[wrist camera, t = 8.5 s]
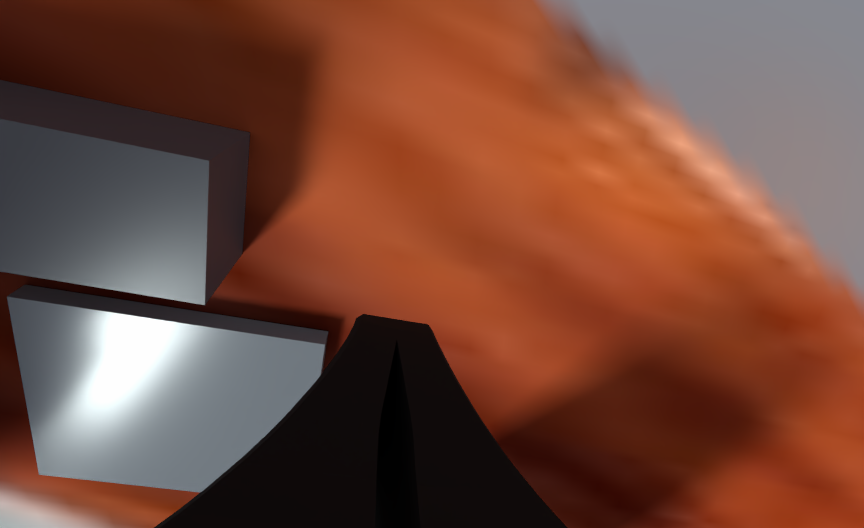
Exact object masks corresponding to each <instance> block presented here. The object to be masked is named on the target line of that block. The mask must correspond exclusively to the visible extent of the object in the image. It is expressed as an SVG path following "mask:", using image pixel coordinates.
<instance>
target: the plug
mask: <svg viewBox="0 0 864 528" xmlns="http://www.w3.org/2000/svg"><path fill="white" fill-rule="evenodd" d="M249 142H250V132H246V131H241V130H236V129H231V128H227V127H222V126H217V125H212V124H208V123H203V122H198V121H193V120H189V119H184V118H179V117H174V116H170V115H165V114H160V113H155V112H151V111H146V110H141V109H136V108H132V107H127V106H122V105H117V104H113V103H108V102H103V101H98V100H93V99H89V98H84V97H79V96H74V95H70V94H65V93H60V92H55V91H51V90H46V89H41V88H36V87H32V86H27V85H22V84H17V83H13V82H8V81H3V80H0V272H6V273H12V274H18V275H24V276H30V277H37V278H43V279H49V280H55V281H61V282H67V283H73V284H79V285H85V286H91V287H97V288H103V289H109V290H115V291H122V292H128V293H134V294H140V295H146V296H152V297H158V298H164V299H170V300H176V301H182V302H188V303H194V304H200V305H205V304H206V303H207V302H208V300H209V299H210V297H211V296H212V295H213V293H214V292H215V291H216V289H217V288H218V286H219V285H220V284H221V282H222V281H223V280H224V278H225V277H226V275H227V274H228V273H229V271H230V270H231V269H232V267H233V266H234V264H235V263H236V262H237V260H238V259H239V258H240V256H241V255H242V251H243V236H244V220H245V204H246V189H247V173H248V158H249Z"/></svg>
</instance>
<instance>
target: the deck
mask: <svg viewBox="0 0 864 528" xmlns="http://www.w3.org/2000/svg"><path fill="white" fill-rule="evenodd" d="M7 300H8V306H9V311H10V317H11V323H12V328H13V334H14V339H15V345H16V350H17V356H18V361H19V367H20V372H21V378H22V383H23V389H24V394H25V400H26V405H27V411H28V416H29V422H30V427H31V433H32V438H33V444H34V449H35V455H36V460H37V466H38V471H39V475H48V476H57V477H66V478H75V479H84V480H93V481H102V482H111V483H120V484H129V485H139V486H148V487H157V488H166V489H175V490H184V491H193V492H202V491H203V490H204V489H206V488H207V487H208V486H209V485H210V484H211V483H213V482H214V481H215V480H216V479H217V478H219V477H220V476H221V475H222V474H223V473H224V472H226V471H227V470H228V469H229V468H230V467H231V466H233V465H234V464H235V463H236V462H237V461H238V460H240V459H241V458H242V457H243V456H244V455H245V454H246V453H247V452H249V451H250V450H251V449H252V448H253V447H254V446H255V445H256V444H257V443H258V442H259V441H260V440H261V439H262V438H263V437H265V436H266V435H267V434H268V433H269V432H270V431H271V430H272V429H273V428H274V427H275V426H276V425H277V424H278V423H279V422H280V421H281V420H282V419H283V417H284V416H285V415H286V414H287V413H288V412H289V411H290V410H291V409H292V408H293V407H294V406H295V404H296V403H297V402H298V401H299V400H300V399H301V398H302V396H303V395H304V394H305V393H306V392H307V391H308V390H309V389H310V387H311V386H312V385H313V384H314V383H315V382H316V380H317V379H318V378H319V377H320V375H321V374H322V373H323V366H324V359H325V352H326V345H327V339H328V332H329V331H322V330H316V329H309V328H303V327H296V326H290V325H283V324H277V323H270V322H264V321H257V320H251V319H244V318H238V317H231V316H225V315H219V314H212V313H206V312H199V311H193V310H186V309H180V308H173V307H167V306H160V305H154V304H147V303H141V302H134V301H128V300H121V299H115V298H108V297H102V296H95V295H89V294H83V293H76V292H70V291H63V290H57V289H50V288H44V287H37V286H31V285H23V286H22V287H20V288H19V289H17V290H16V291H14V292H13V293H11V294H10V295H8V296H7Z"/></svg>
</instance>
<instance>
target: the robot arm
mask: <svg viewBox="0 0 864 528" xmlns="http://www.w3.org/2000/svg"><path fill="white" fill-rule="evenodd" d="M154 528H567V527H566V526H565V525H564V524H563V523H562V521H561V520H560V519H559V518H558V517H557V516H556V515H555V514H554V513H553V512H552V511H551V509H550V508H549V507H548V506H547V505H546V504H545V503H544V502H543V500H542V499H541V498H540V497H539V496H538V495H537V494H536V492H535V491H534V490H533V489H532V487H531V486H530V485H529V484H528V482H527V481H526V480H525V479H524V478H523V476H522V475H521V474H520V473H519V471H518V470H517V469H516V468H515V467H514V465H513V464H512V463H511V461H510V460H509V459H508V457H507V456H506V455H505V453H504V452H503V450H502V449H501V448H500V446H499V445H498V443H497V442H496V441H495V439H494V438H493V436H492V435H491V433H490V432H489V430H488V429H487V427H486V426H485V424H484V423H483V421H482V420H481V418H480V417H479V415H478V414H477V412H476V410H475V409H474V407H473V406H472V404H471V402H470V401H469V399H468V397H467V396H466V394H465V392H464V391H463V389H462V387H461V385H460V384H459V382H458V380H457V379H456V377H455V375H454V373H453V371H452V369H451V368H450V366H449V364H448V362H447V360H446V358H445V356H444V354H443V352H442V350H441V348H440V346H439V344H438V342H437V340H436V338H435V336H434V333H433V331H432V330H431V328H430V327H429V325H428V324H422V323H416V322H409V321H403V320H397V319H391V318H385V317H378V316H372V315H366V314H363V315H361V316H359V317H358V318H356V321H355V324H354V326H353V328H352V330H351V332H350V334H349V335H348V337H347V339H346V340H345V342H344V344H343V345H342V347H341V348H340V350H339V351H338V353H337V354H336V355H335V357H334V358H333V359H332V361H331V362H330V363H329V365H328V366H327V367H326V369H325V370H324V371H323V373H322V374H321V375H320V377H319V378H318V379H317V380H316V382H315V383H314V384H313V385H312V386H311V387H310V389H309V390H308V391H307V392H306V393H305V394H304V395H303V396H302V398H301V399H300V400H299V401H298V402H297V403H296V404H295V406H294V407H293V408H292V409H291V410H290V411H289V412H288V413H287V414H286V415H285V416H284V417H283V419H282V420H281V421H280V422H279V423H278V424H277V425H276V426H275V427H274V428H273V429H272V430H271V431H270V432H269V433H268V434H267V435H266V436H265V437H263V438H262V439H261V440H260V441H259V442H258V443H257V444H256V445H255V446H254V447H253V448H252V449H251V450H250V451H249V452H247V453H246V454H245V455H244V456H243V457H242V458H241V459H240V460H238V461H237V462H236V463H235V464H234V465H233V466H231V467H230V468H229V469H228V470H227V471H226V472H224V473H223V474H222V475H221V476H220V477H219V478H217V479H216V480H215V481H214V482H213V483H211V484H210V485H209V486H208V487H207V488H206V489H204V490H203V491H202V492H201V493H199V494H198V495H197V496H196V497H194V498H193V499H192V500H191V501H189V502H188V503H187V504H185V505H184V506H183V507H182V508H180V509H179V510H178V511H176V512H175V513H174V514H172V515H171V516H169V517H168V518H167V519H165V520H164V521H163V522H161V523H160V524H158V525H157V526H156V527H154Z"/></svg>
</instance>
